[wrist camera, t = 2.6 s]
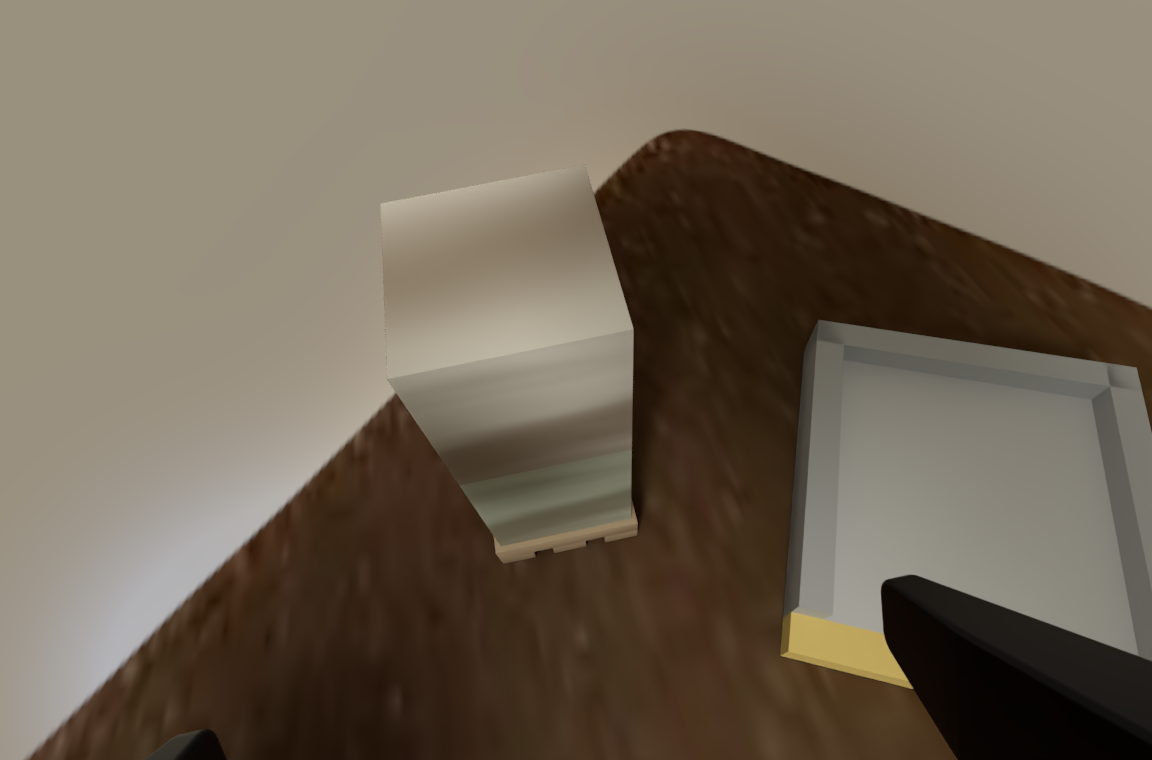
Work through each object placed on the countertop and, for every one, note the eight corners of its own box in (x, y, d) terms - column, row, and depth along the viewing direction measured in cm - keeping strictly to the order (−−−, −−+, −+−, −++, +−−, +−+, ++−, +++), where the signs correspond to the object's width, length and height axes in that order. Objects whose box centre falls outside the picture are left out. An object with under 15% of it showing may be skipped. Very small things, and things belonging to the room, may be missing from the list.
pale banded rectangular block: (637, 535, 22) (647, 335, 11) (503, 563, 22) (376, 391, 11) (607, 416, 25) (591, 157, 14) (487, 441, 25) (371, 199, 13)
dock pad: (1163, 752, 18) (1226, 753, 16) (780, 655, 20) (796, 647, 18) (1095, 396, 24) (1136, 367, 22) (804, 350, 26) (818, 319, 24)
